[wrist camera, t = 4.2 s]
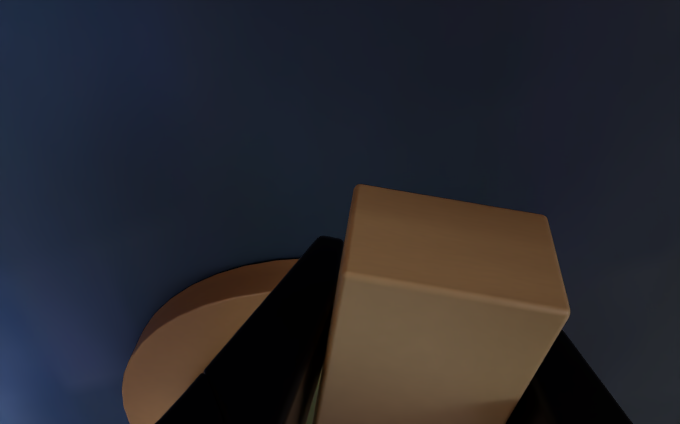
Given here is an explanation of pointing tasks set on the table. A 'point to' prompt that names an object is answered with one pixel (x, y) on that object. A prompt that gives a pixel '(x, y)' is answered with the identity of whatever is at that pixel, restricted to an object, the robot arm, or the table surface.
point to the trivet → (192, 336)
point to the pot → (437, 311)
